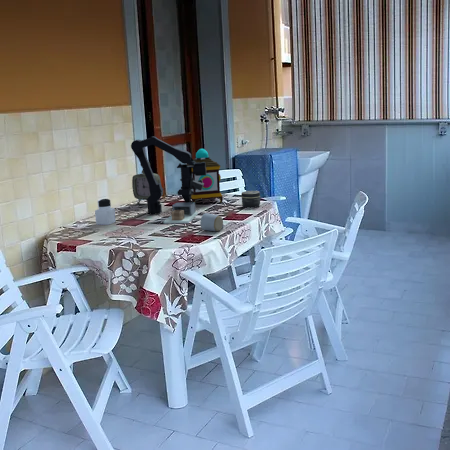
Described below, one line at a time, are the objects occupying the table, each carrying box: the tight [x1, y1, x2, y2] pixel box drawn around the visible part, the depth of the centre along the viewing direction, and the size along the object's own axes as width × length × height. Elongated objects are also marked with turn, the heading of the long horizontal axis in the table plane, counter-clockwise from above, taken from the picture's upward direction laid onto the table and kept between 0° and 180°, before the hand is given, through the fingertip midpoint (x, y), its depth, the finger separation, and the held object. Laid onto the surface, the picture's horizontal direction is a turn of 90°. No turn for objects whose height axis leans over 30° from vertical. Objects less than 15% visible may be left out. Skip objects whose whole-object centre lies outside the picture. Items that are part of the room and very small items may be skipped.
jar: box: [240, 190, 261, 209], centre depth 322 cm, size 10×10×8 cm
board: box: [163, 211, 199, 225], centre depth 299 cm, size 12×22×4 cm, turn 170°
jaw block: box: [171, 210, 184, 220], centre depth 294 cm, size 5×5×4 cm
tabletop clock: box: [131, 162, 162, 205], centre depth 341 cm, size 14×9×25 cm, turn 58°
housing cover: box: [171, 201, 197, 215], centre depth 305 cm, size 10×9×5 cm
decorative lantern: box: [186, 148, 224, 203], centre depth 342 cm, size 20×20×30 cm
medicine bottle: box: [94, 198, 116, 226], centre depth 296 cm, size 7×7×12 cm
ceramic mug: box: [199, 212, 225, 232], centre depth 271 cm, size 11×8×8 cm
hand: (188, 205), depth 315 cm, fingers closed
